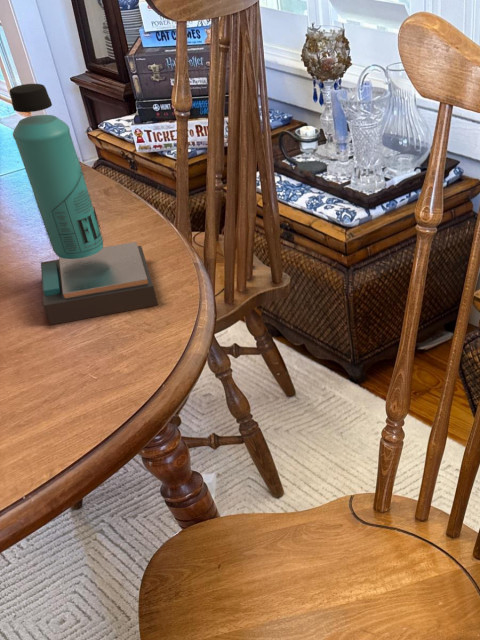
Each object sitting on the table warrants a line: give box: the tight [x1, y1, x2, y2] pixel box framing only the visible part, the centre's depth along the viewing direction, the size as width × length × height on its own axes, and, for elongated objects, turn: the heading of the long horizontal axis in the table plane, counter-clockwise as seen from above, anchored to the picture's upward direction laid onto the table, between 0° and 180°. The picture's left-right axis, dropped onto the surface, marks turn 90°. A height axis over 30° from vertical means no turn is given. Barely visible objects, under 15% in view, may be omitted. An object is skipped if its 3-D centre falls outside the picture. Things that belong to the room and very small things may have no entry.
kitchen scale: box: [40, 241, 159, 326], centre depth 100 cm, size 13×13×3 cm
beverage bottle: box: [9, 83, 105, 259], centre depth 93 cm, size 6×7×20 cm
